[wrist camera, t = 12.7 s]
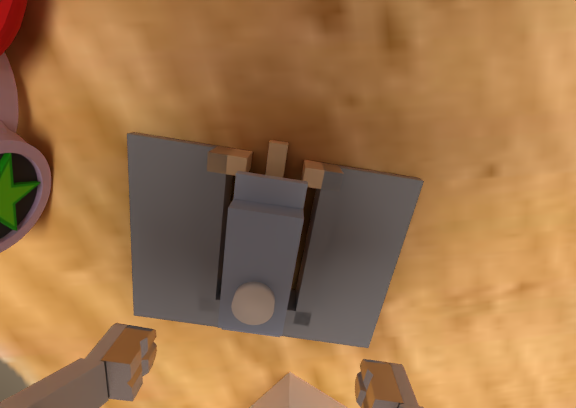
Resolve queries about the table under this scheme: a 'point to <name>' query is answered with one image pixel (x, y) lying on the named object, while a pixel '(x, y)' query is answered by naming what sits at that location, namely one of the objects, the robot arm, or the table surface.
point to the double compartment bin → (295, 395)
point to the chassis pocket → (212, 233)
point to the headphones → (17, 146)
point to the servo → (261, 247)
